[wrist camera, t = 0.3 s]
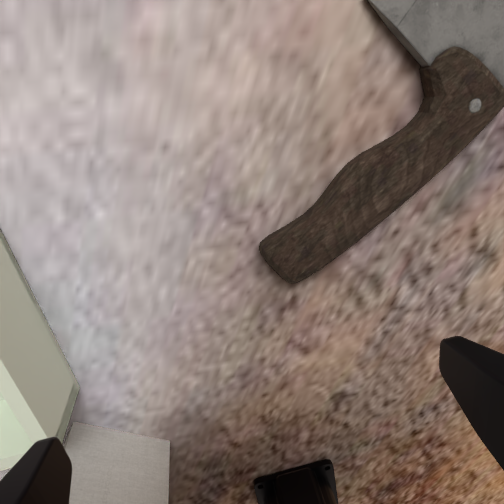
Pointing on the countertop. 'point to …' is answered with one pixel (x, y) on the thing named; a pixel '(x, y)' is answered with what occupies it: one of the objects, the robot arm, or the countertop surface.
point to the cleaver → (406, 129)
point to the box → (28, 369)
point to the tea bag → (117, 466)
